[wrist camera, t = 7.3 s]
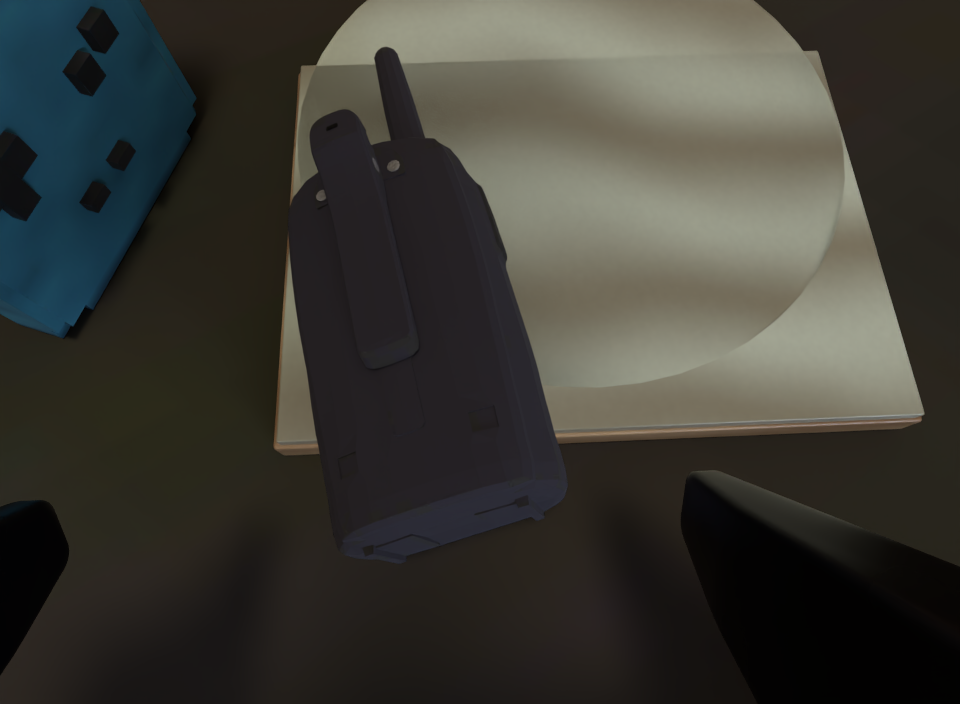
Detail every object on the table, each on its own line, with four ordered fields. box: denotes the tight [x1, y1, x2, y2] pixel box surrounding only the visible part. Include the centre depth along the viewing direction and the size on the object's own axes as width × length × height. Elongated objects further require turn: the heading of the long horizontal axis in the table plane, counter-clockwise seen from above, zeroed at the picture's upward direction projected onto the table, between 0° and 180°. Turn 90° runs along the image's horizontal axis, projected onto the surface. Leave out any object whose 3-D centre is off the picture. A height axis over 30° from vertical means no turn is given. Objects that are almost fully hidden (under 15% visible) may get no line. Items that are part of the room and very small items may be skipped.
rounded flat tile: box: [274, 0, 924, 456], centre depth 21 cm, size 19×18×1 cm
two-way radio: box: [288, 47, 568, 564], centre depth 16 cm, size 6×4×15 cm
